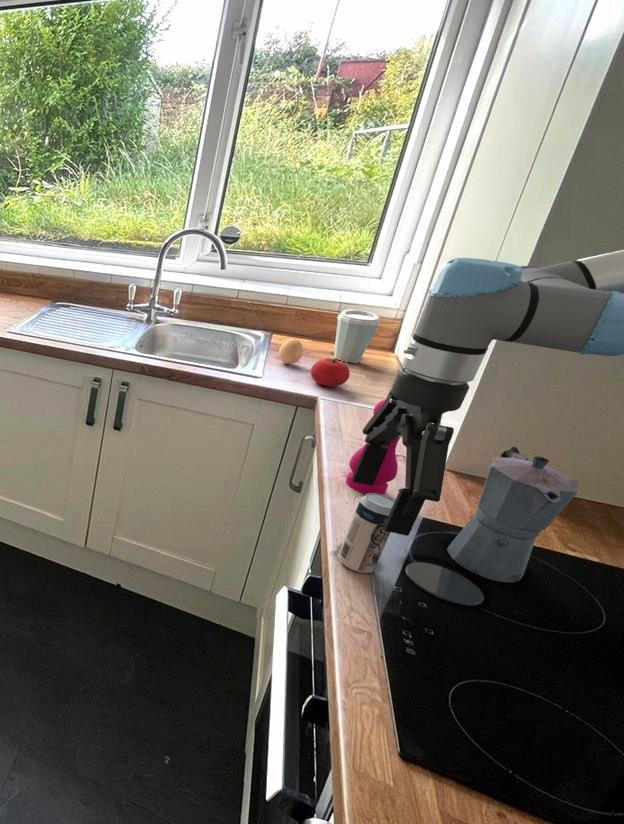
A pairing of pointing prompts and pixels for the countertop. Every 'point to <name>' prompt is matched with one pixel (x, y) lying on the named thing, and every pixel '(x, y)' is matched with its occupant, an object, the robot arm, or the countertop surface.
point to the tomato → (330, 372)
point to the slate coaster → (444, 583)
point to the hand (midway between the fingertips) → (377, 505)
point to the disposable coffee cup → (354, 334)
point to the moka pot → (511, 516)
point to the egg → (291, 351)
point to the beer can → (366, 533)
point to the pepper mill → (385, 472)
